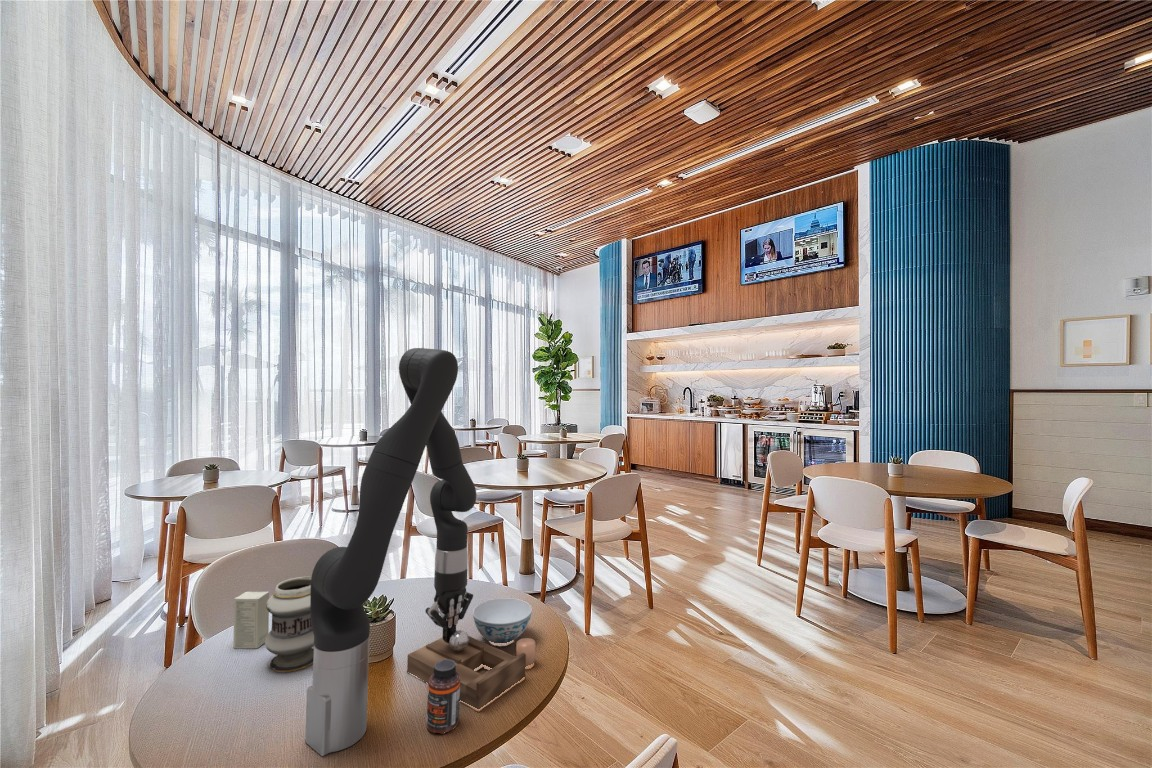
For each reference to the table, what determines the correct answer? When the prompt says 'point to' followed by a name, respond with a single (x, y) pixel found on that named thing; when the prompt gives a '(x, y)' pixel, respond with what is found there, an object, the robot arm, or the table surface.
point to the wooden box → (471, 668)
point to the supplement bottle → (443, 697)
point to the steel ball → (459, 640)
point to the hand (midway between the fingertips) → (449, 641)
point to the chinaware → (502, 619)
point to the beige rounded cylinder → (526, 649)
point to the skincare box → (250, 619)
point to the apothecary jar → (291, 625)
